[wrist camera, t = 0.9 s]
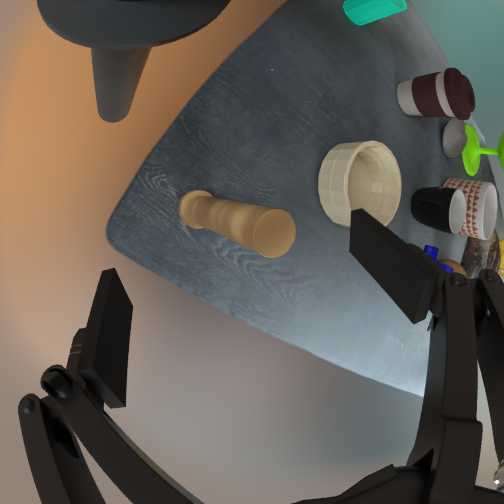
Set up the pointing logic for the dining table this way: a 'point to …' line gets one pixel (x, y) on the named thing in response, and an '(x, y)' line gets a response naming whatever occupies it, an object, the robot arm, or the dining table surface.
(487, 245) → the bread
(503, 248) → the teapot
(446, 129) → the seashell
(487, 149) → the wineglass
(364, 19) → the candle
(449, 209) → the mug
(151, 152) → the dining table surface
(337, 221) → the bowl
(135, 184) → the dining table surface
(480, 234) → the white patterned cup
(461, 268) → the potato
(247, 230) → the wooden pestle
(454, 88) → the coffee cup
